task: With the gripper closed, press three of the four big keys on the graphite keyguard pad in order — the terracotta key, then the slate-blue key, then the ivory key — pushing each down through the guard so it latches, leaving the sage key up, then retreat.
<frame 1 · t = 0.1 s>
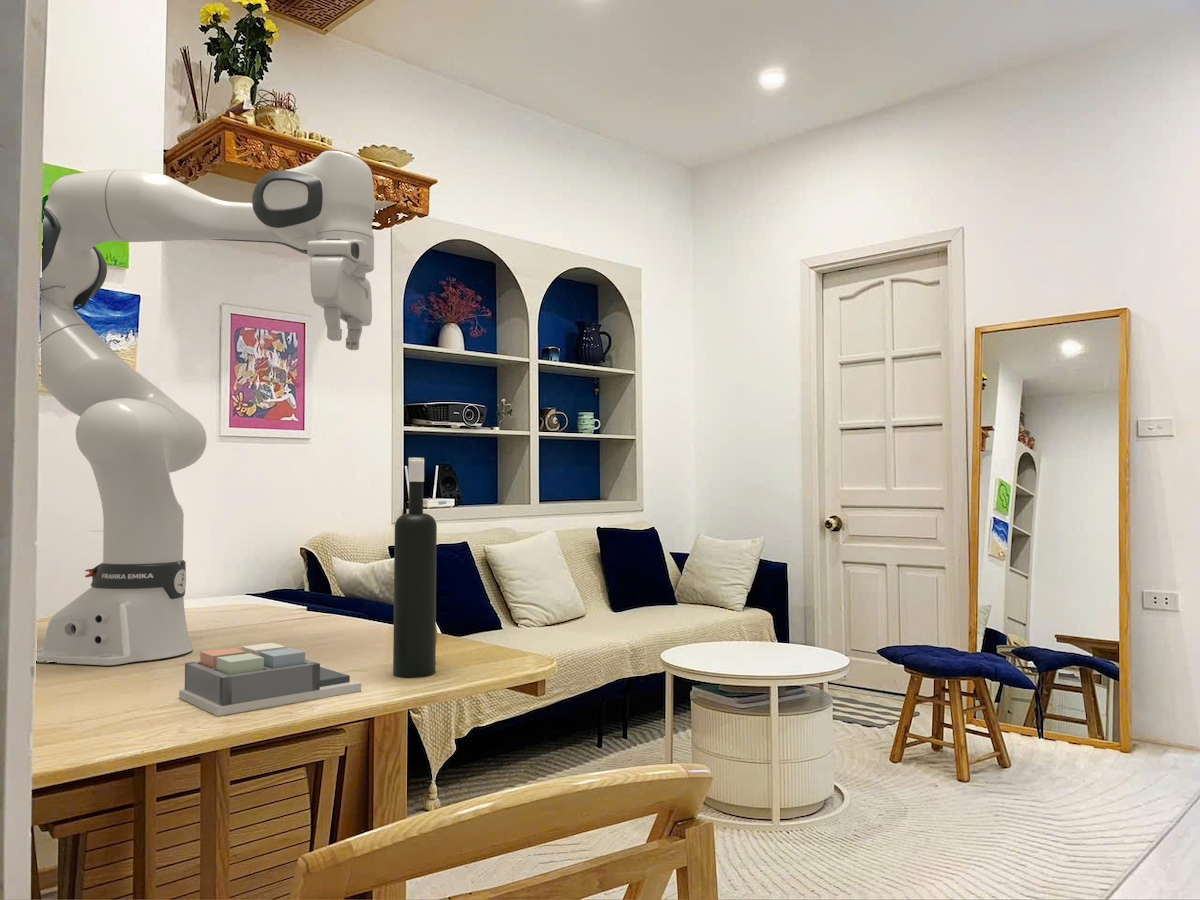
hand: (343, 345, 140), 48 cm above the table, fingers open, 8 cm apart
key terracotta: (223, 660, 111), point 5 cm above the table, slide at 0.0 cm
key ivory: (263, 655, 114), point 5 cm above the table, slide at 0.0 cm
keypad: (271, 694, 112), on the table
key sage: (240, 666, 107), point 5 cm above the table, slide at 0.0 cm
key slate: (282, 661, 111), point 5 cm above the table, slide at 0.0 cm
wine bottle: (414, 674, 125), on the table
lemon: (417, 664, 132), on the table
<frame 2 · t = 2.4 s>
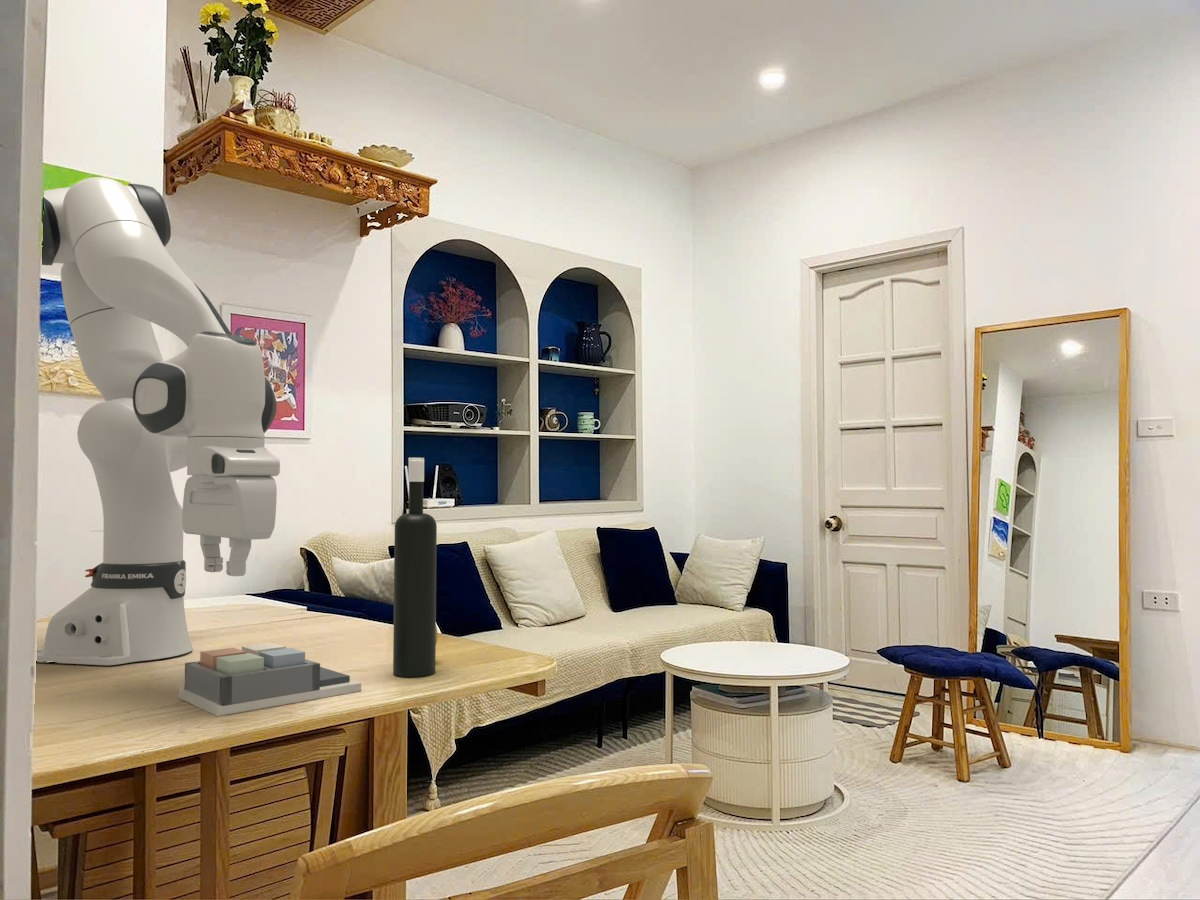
hand: (224, 573, 111), 15 cm above the table, fingers open, 5 cm apart
nothing on the table moved.
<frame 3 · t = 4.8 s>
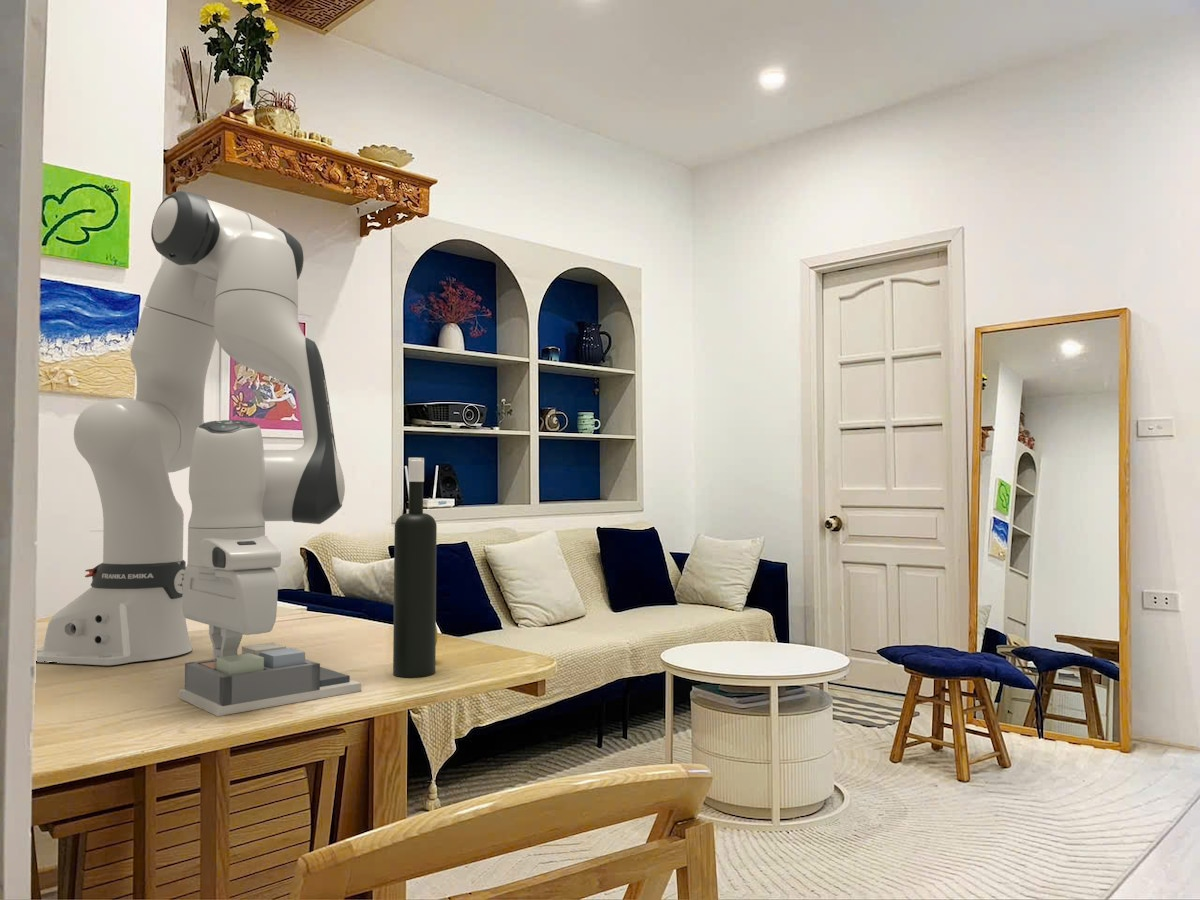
hand: (225, 663, 111), 4 cm above the table, fingers closed, pressing on key terracotta
key terracotta: (222, 672, 111), point 3 cm above the table, slide at 1.5 cm, touching gripper
everything else where it was.
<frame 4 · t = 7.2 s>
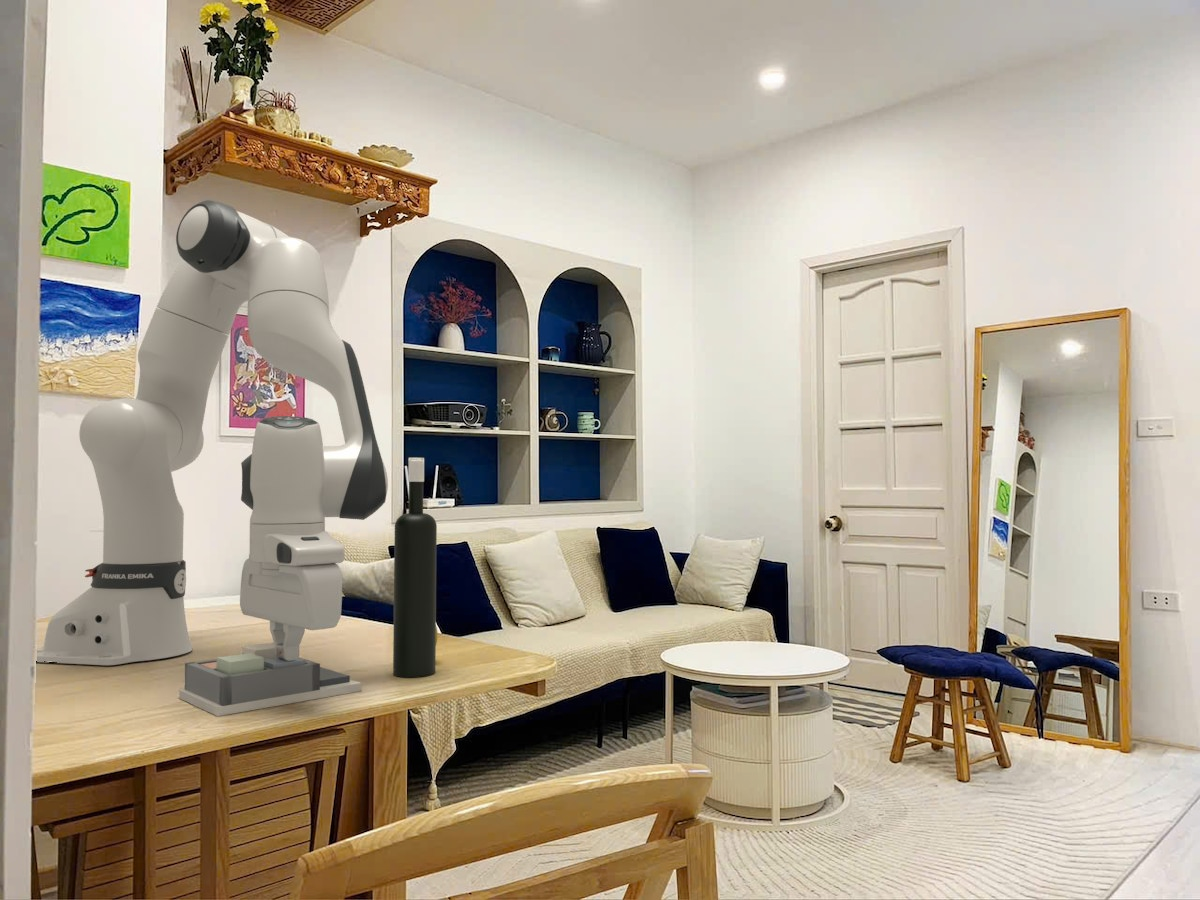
hand: (286, 658, 111), 5 cm above the table, fingers closed, pressing on key slate
key terracotta: (222, 673, 111), point 3 cm above the table, slide at 1.5 cm
key slate: (282, 668, 111), point 4 cm above the table, slide at 1.0 cm, touching gripper
everything else where it was.
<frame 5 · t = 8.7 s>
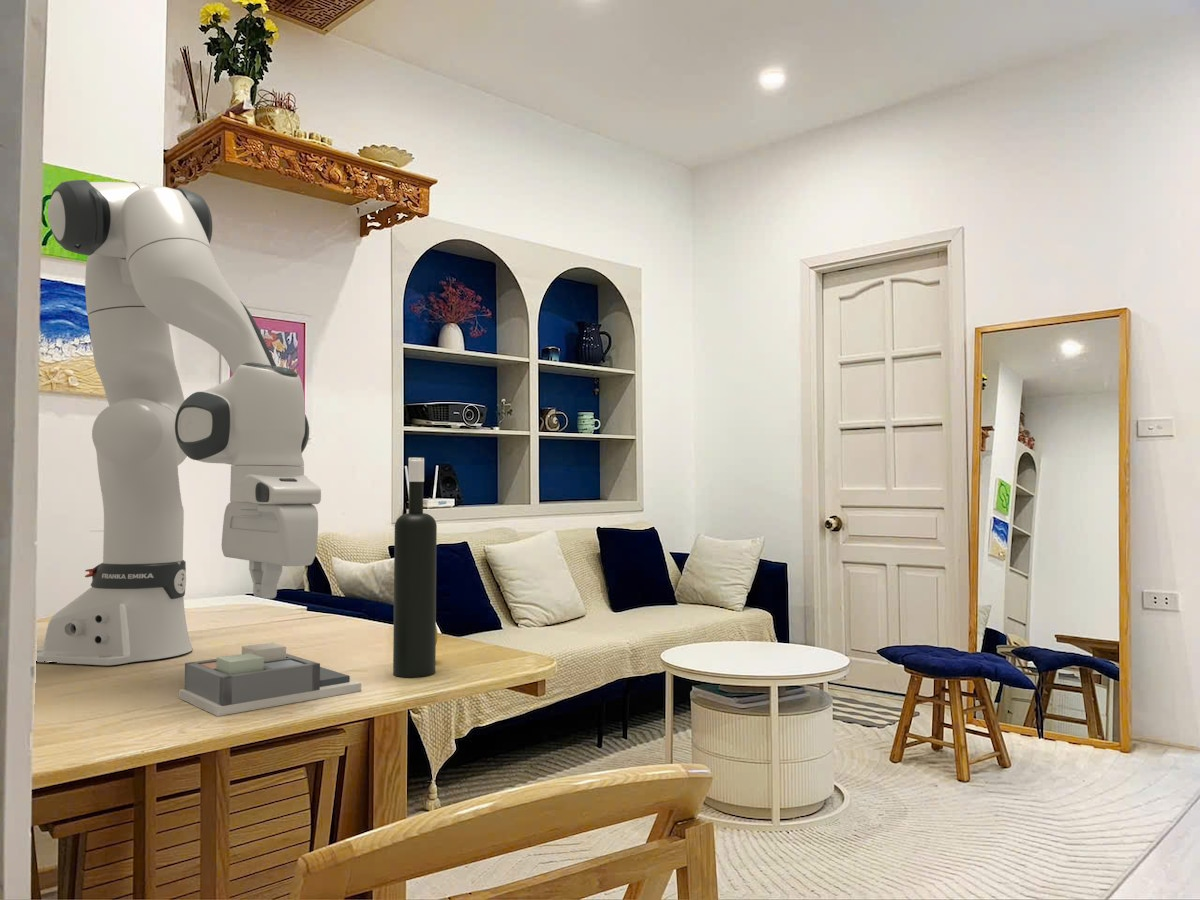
hand: (264, 597, 115), 12 cm above the table, fingers closed
key slate: (281, 673, 110), point 3 cm above the table, slide at 1.5 cm
everything else where it was.
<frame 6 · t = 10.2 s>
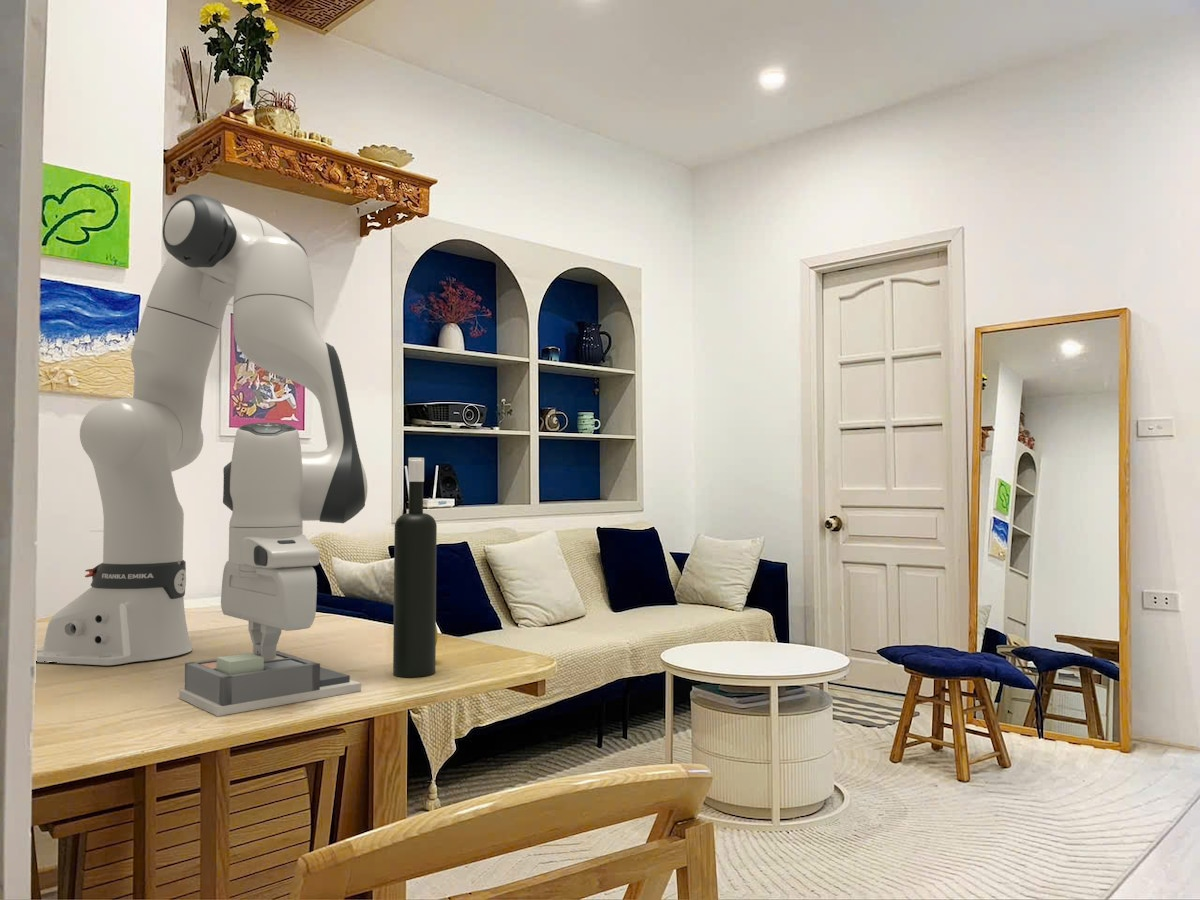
hand: (264, 658, 114), 4 cm above the table, fingers closed, pressing on key ivory
key ivory: (263, 667, 114), point 3 cm above the table, slide at 1.5 cm, touching gripper
everything else where it was.
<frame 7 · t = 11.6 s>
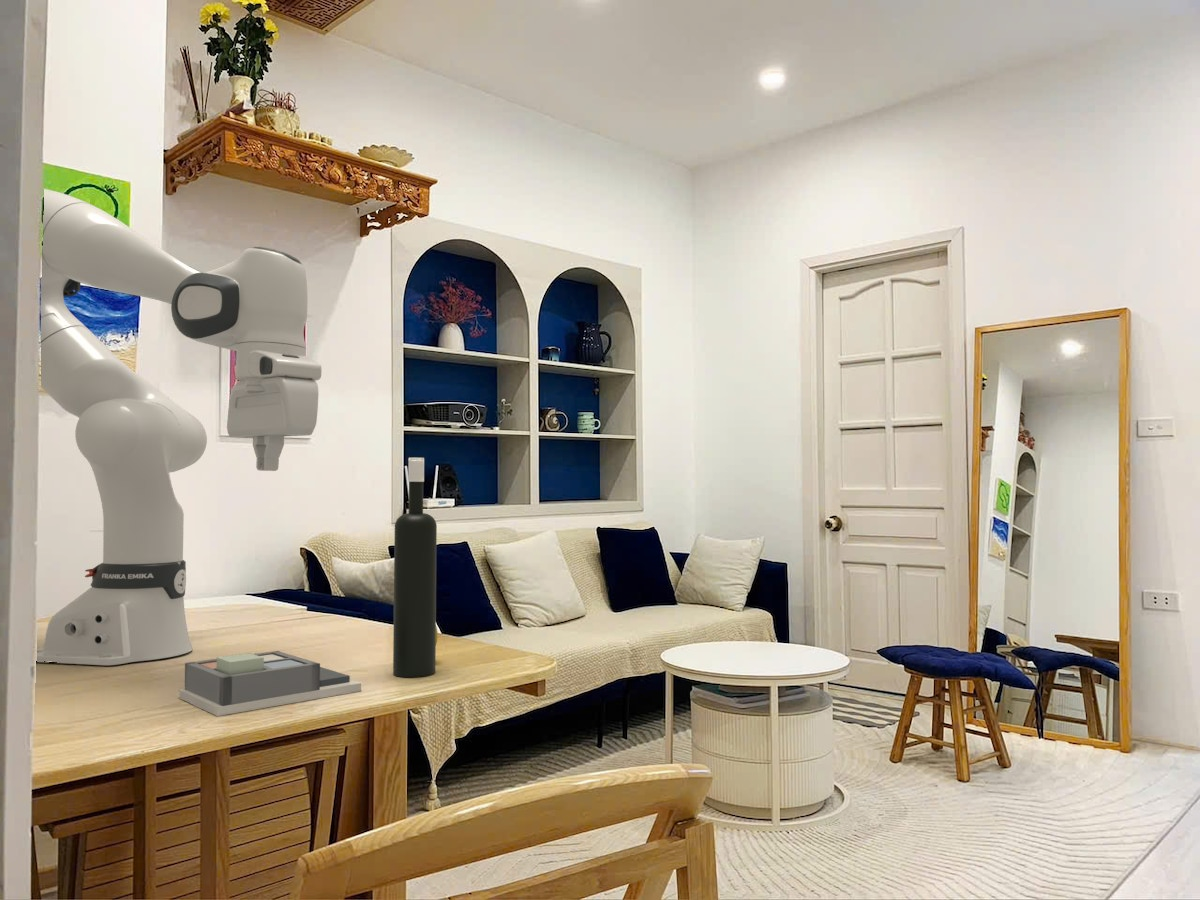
hand: (267, 470, 121), 28 cm above the table, fingers closed
key ivory: (263, 667, 114), point 3 cm above the table, slide at 1.5 cm
everything else where it was.
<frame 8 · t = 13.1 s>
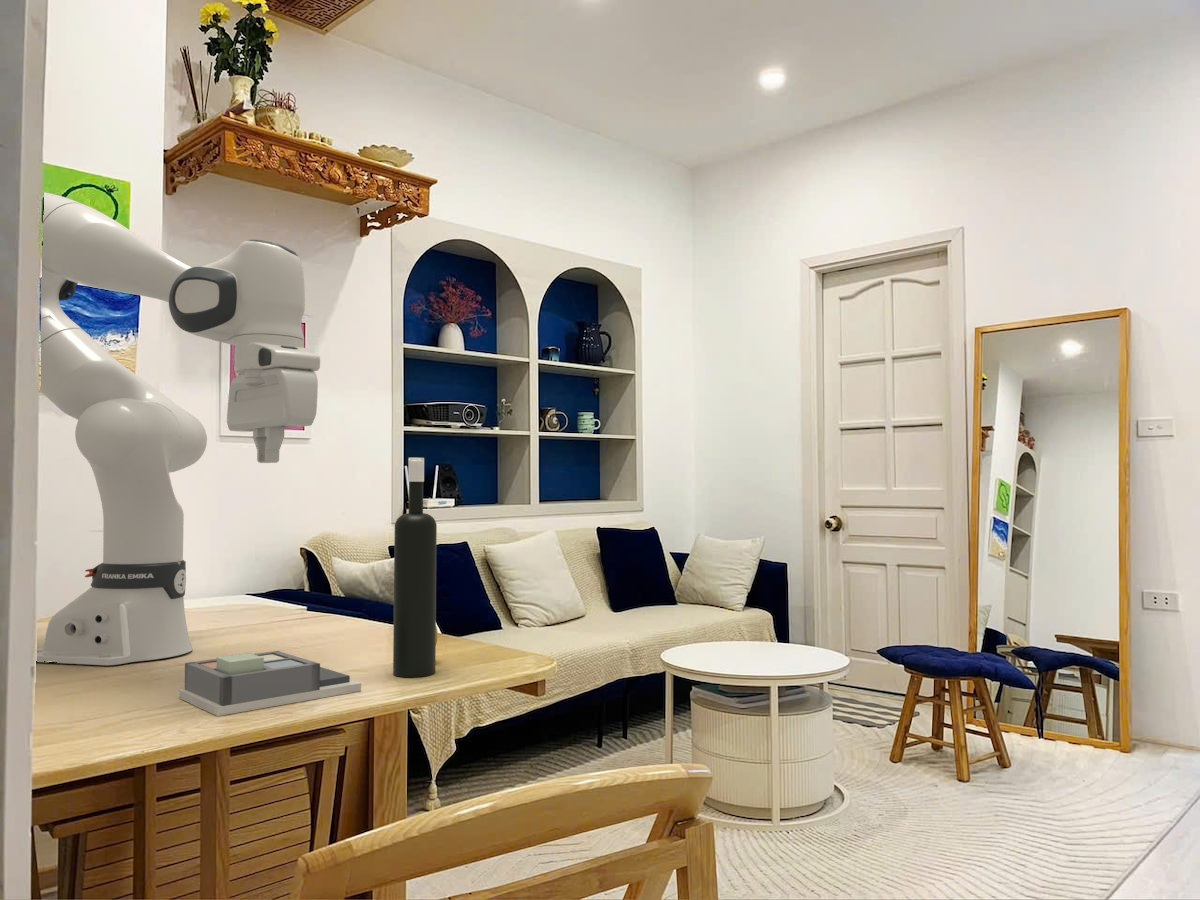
hand: (268, 462, 121), 29 cm above the table, fingers closed
nothing on the table moved.
at the end: key terracotta slide at 1.5 cm; key slate slide at 1.5 cm; key ivory slide at 1.5 cm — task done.
